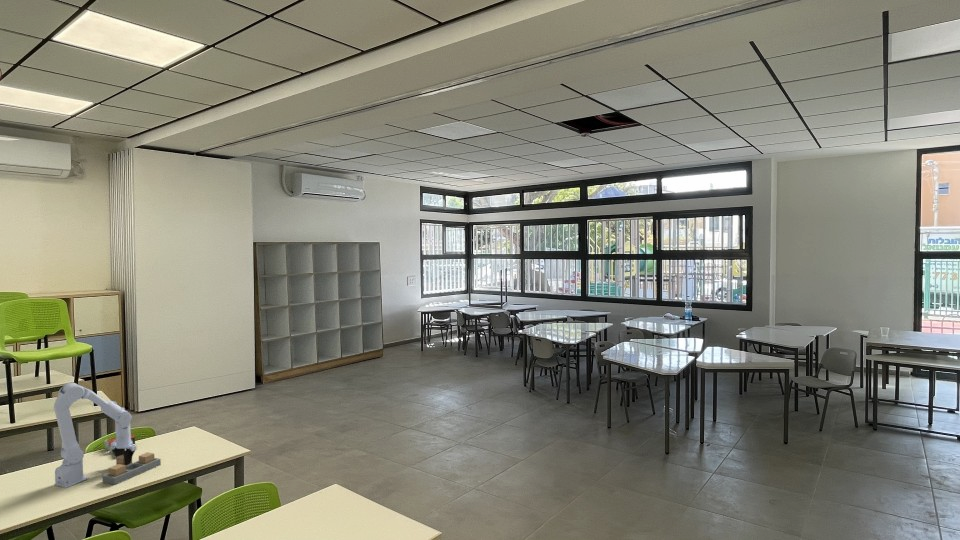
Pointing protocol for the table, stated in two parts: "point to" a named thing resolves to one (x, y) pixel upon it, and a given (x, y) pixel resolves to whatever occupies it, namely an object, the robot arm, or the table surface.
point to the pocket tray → (131, 469)
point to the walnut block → (121, 460)
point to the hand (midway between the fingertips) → (124, 463)
